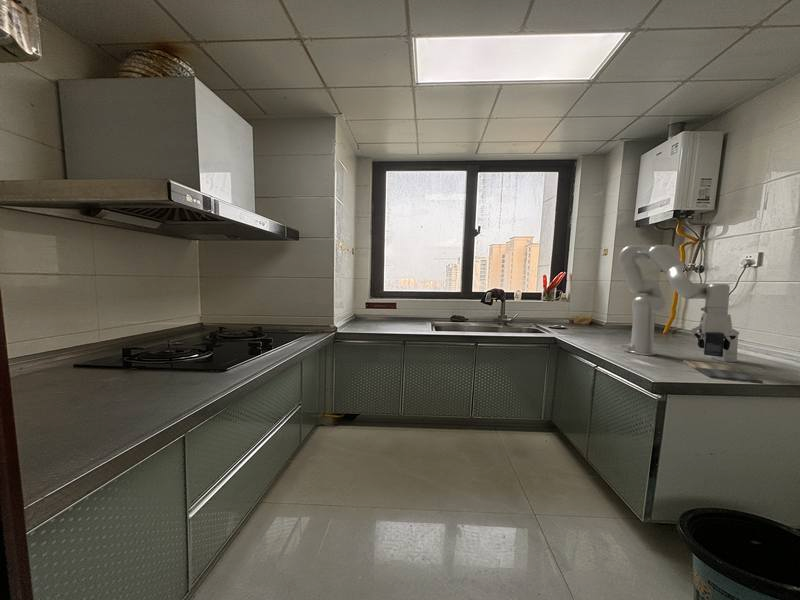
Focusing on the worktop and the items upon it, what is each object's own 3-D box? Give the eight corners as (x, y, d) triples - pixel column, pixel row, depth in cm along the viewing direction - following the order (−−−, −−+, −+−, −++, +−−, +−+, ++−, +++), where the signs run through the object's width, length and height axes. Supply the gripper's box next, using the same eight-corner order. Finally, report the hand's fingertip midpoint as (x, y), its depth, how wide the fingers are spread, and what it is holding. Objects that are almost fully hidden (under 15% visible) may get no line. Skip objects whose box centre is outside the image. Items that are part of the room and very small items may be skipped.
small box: (703, 351, 152) (704, 329, 152) (722, 353, 148) (724, 331, 147) (703, 354, 145) (704, 332, 144) (723, 357, 140) (725, 333, 139)
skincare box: (737, 362, 158) (740, 331, 156) (723, 362, 158) (726, 331, 156) (720, 357, 166) (723, 328, 165) (707, 357, 166) (710, 328, 165)
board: (710, 377, 132) (710, 375, 132) (682, 362, 156) (683, 360, 156) (762, 383, 126) (762, 380, 126) (725, 366, 150) (725, 364, 150)
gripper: (695, 310, 145) (692, 348, 146) (746, 312, 138) (743, 352, 139) (688, 309, 152) (685, 345, 153) (736, 311, 145) (733, 348, 146)
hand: (713, 348), depth 146 cm, fingers closed on small box, 8 cm apart
